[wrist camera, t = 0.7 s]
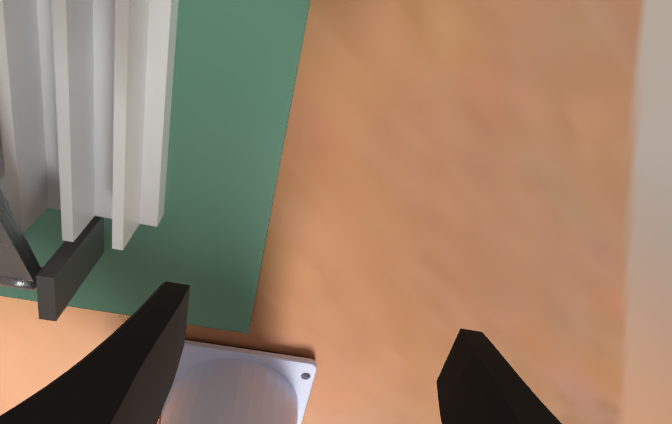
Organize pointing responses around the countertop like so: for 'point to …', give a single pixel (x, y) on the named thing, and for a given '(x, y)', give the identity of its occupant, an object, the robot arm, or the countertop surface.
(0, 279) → the long grey plank
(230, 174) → the heatsink board
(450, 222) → the countertop surface
